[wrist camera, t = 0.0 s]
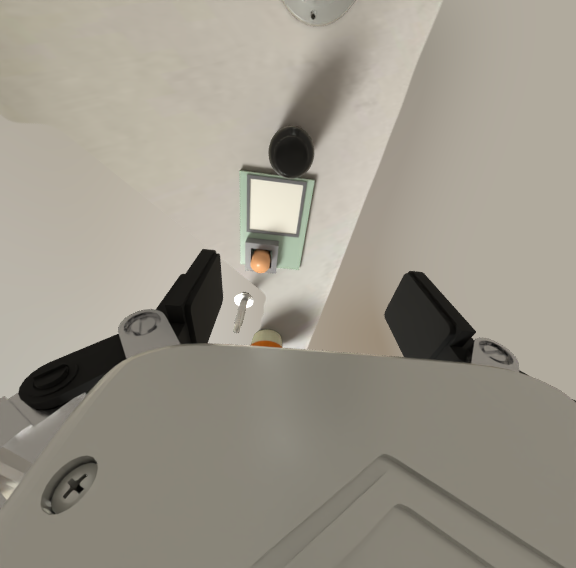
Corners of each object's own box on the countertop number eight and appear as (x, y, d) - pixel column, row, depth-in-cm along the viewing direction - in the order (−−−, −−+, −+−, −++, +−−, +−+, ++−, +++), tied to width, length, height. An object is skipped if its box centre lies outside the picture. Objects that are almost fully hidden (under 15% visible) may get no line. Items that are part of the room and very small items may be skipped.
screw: (258, 296, 59) (246, 305, 61) (244, 285, 57) (232, 295, 59) (251, 333, 49) (237, 343, 51) (234, 322, 47) (220, 332, 49)
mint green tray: (240, 170, 41) (236, 173, 38) (314, 179, 42) (316, 183, 39) (241, 261, 53) (238, 269, 50) (298, 267, 54) (299, 275, 51)
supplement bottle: (298, 115, 36) (302, 112, 27) (317, 156, 40) (326, 166, 30) (264, 141, 39) (256, 147, 29) (284, 177, 42) (283, 193, 32)
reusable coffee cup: (277, 355, 75) (275, 400, 62) (242, 345, 72) (232, 390, 59) (293, 332, 68) (294, 378, 56) (255, 320, 65) (247, 365, 53)
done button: (253, 246, 48) (250, 255, 45) (271, 248, 48) (270, 257, 45) (252, 262, 50) (250, 271, 47) (270, 264, 51) (268, 273, 48)
